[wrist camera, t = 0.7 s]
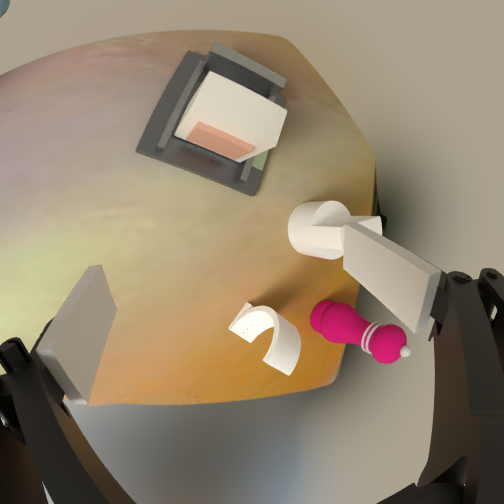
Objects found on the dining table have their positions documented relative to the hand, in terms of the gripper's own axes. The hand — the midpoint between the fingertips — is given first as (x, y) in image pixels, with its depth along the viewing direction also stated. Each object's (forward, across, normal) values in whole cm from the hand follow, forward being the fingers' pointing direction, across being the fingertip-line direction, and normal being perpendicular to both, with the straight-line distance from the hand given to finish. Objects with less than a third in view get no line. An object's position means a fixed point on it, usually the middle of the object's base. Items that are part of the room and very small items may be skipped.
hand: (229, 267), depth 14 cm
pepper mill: (+25, +18, -25) cm, 40 cm away
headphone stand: (+22, +4, -20) cm, 30 cm away
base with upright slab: (+28, +16, -9) cm, 34 cm away
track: (+28, +3, +10) cm, 30 cm away
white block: (+26, +2, +7) cm, 27 cm away
